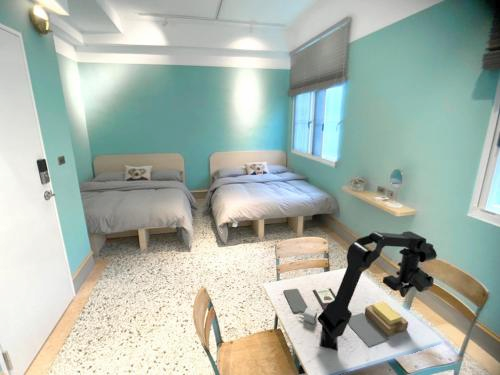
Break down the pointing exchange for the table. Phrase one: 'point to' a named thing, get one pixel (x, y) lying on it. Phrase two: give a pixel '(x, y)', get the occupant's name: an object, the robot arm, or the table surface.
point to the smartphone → (295, 300)
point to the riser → (383, 325)
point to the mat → (367, 330)
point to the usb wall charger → (309, 315)
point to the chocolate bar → (324, 296)
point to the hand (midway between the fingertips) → (402, 296)
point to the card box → (387, 312)
